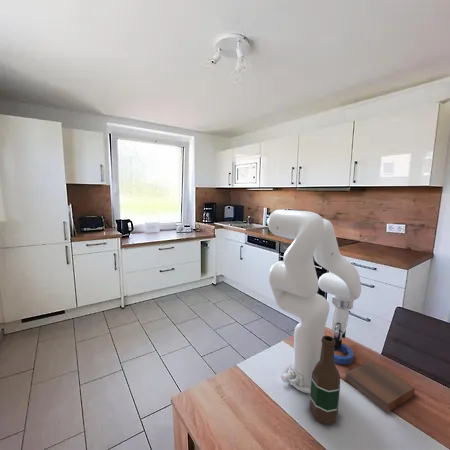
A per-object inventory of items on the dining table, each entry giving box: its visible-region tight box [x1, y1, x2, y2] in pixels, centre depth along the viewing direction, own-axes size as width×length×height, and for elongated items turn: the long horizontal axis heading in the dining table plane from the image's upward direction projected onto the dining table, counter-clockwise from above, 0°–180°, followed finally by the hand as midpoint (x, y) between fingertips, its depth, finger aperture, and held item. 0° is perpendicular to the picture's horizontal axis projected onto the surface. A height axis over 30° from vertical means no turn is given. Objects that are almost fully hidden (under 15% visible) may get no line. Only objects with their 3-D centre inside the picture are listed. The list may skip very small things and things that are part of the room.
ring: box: [334, 343, 354, 366], centre depth 97 cm, size 11×11×2 cm
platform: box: [345, 359, 416, 414], centre depth 81 cm, size 14×14×3 cm
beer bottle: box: [309, 335, 341, 426], centre depth 70 cm, size 8×8×24 cm
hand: (338, 342), depth 99 cm, fingers open, 9 cm apart
